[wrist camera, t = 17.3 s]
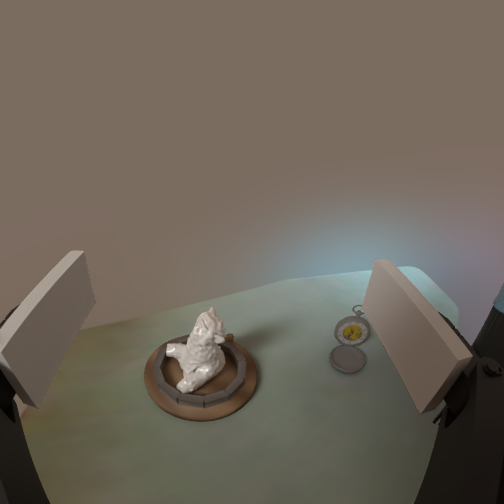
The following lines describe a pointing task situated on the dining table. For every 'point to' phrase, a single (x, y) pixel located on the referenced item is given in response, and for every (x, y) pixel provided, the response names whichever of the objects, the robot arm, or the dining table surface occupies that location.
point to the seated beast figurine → (200, 352)
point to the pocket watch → (350, 343)
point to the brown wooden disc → (208, 395)
